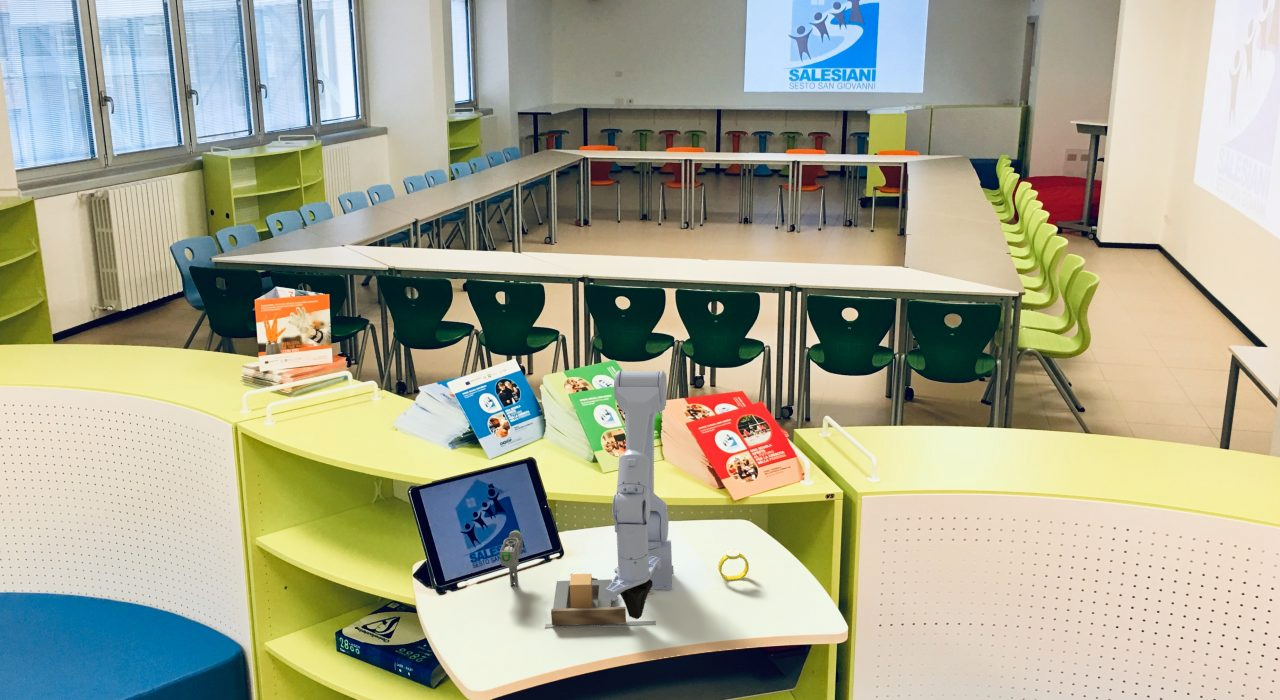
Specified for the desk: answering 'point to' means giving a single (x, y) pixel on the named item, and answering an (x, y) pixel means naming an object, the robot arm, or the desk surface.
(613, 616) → the wooden plank
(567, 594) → the housing
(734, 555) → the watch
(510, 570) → the mechanical component
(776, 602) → the desk surface
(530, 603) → the desk surface
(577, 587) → the jaw block
